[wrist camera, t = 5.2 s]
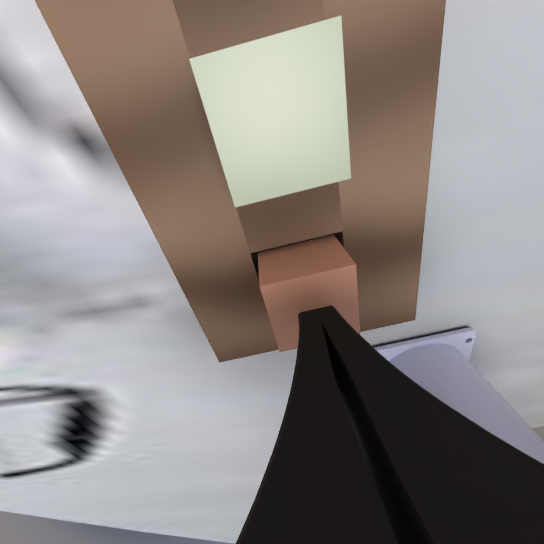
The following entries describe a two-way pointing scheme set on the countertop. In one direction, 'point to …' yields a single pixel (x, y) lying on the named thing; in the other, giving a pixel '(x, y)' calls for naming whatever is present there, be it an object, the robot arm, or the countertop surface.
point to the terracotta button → (307, 285)
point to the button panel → (206, 162)
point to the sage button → (278, 111)
